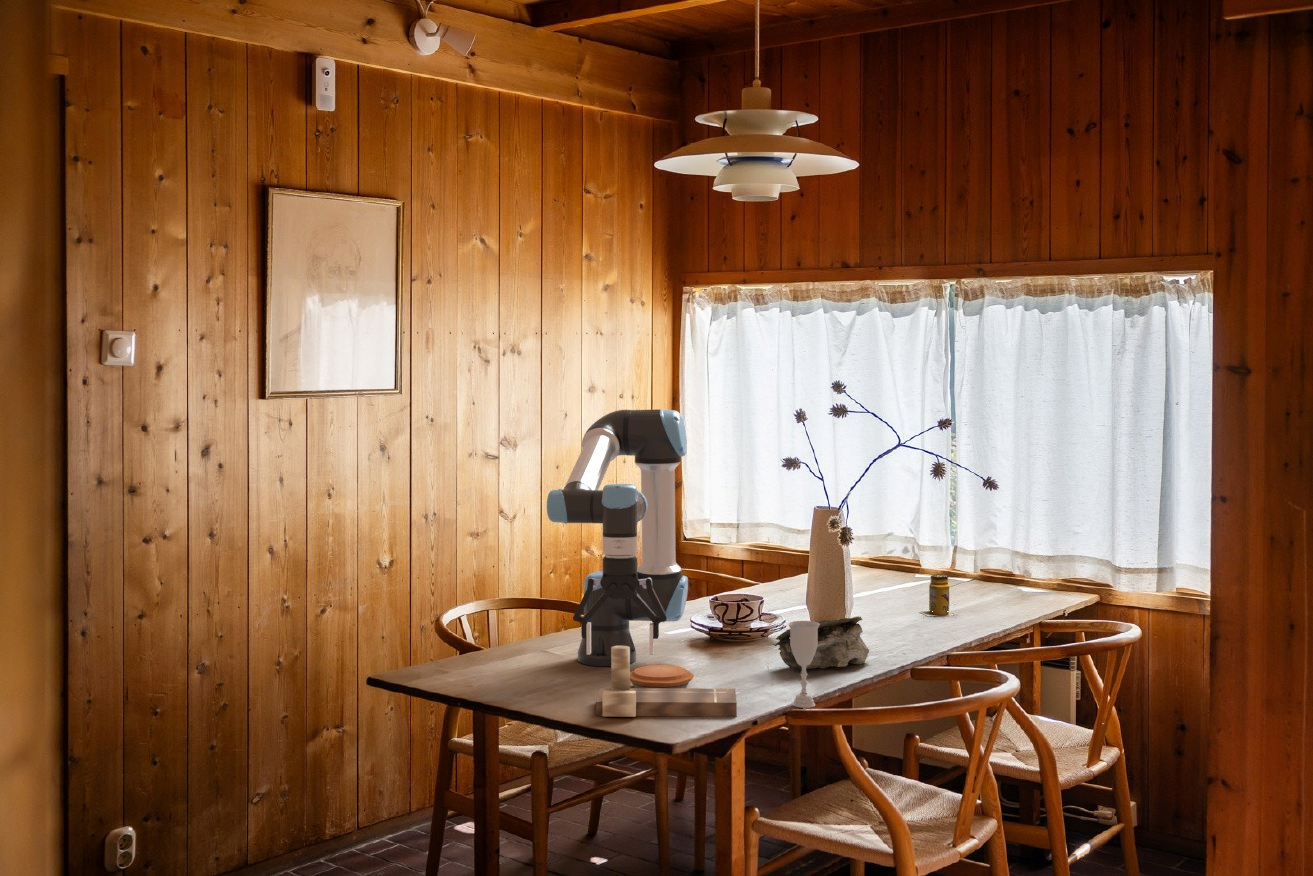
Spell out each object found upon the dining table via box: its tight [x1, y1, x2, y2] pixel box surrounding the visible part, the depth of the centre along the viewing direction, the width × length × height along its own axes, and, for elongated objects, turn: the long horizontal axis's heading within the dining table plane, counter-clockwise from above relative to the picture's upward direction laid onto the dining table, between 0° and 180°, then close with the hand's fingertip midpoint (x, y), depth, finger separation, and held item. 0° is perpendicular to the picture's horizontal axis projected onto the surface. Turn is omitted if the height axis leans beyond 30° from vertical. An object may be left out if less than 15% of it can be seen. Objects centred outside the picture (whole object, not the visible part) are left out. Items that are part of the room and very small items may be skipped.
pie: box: [630, 664, 695, 688], centre depth 281 cm, size 15×16×5 cm
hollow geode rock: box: [772, 616, 870, 674], centre depth 301 cm, size 28×13×15 cm
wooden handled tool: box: [602, 646, 637, 718], centre depth 261 cm, size 7×11×14 cm, turn 178°
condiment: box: [918, 574, 954, 617], centre depth 373 cm, size 7×8×12 cm
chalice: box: [787, 620, 820, 709], centre depth 266 cm, size 7×7×18 cm
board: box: [595, 687, 738, 718], centre depth 264 cm, size 30×12×3 cm, turn 88°
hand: (620, 653), depth 261 cm, fingers open, 13 cm apart
